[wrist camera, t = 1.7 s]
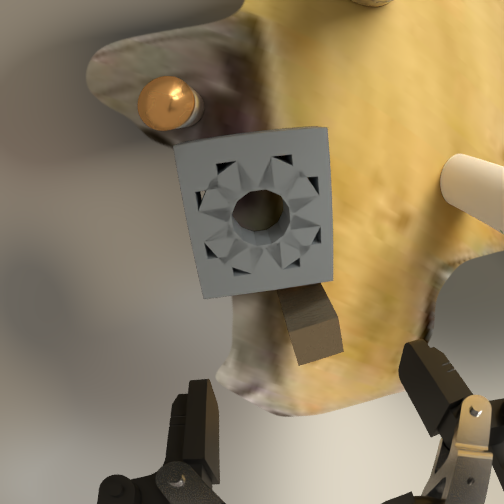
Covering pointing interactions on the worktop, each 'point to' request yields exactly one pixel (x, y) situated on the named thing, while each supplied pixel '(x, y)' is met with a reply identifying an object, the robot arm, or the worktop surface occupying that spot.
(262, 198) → the worktop surface
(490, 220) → the cylindrical container
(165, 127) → the cylinder
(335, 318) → the square bit
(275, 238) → the socket block
